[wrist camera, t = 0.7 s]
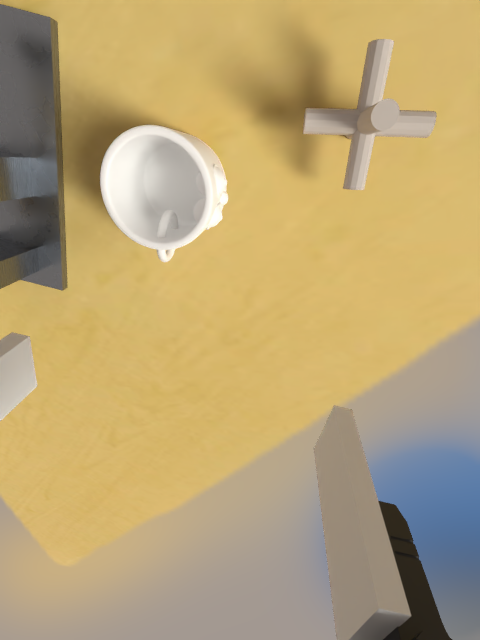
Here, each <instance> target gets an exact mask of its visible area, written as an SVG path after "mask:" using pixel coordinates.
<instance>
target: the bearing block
mask: <svg viewBox="0 0 480 640" xmlns="http://www.w3.org/2000/svg"><path fill="white" fill-rule="evenodd" d="M18 280H24V281H28V282H32V283H36V284H40V285H43V286H47V287H51V288H55V289H59V290H64V289H66V288H67V267H66V240H65V213H64V187H63V160H62V134H61V107H60V81H59V54H58V28H57V21H55V20H53V19H52V18H50V17H46V16H43V15H39V14H35V13H31V12H28V11H24V10H20V9H16V8H13V7H9V6H5V5H2V4H0V289H1V288H3V287H5V286H7V285H10V284H12V283H14V282H16V281H18Z"/></svg>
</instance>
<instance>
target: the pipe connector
mask: <svg viewBox="0 0 480 640" xmlns="http://www.w3.org/2000/svg"><path fill="white" fill-rule="evenodd" d="M393 44H394V41H393V40H390V39H378V40H374V41H371V42H369V43H368V48H367V54H366V60H365V65H364V71H363V77H362V83H361V88H360V94H359V100H358V106H357V109H332V108H306V110H305V116H304V124H303V134H326V135H345V136H346V137H347V138H348V139H352V140H351V146H350V152H349V157H348V163H347V169H346V175H345V180H344V186H343V189H351V190H364V187H365V182H366V177H367V172H368V167H369V162H370V157H371V152H372V148H373V143H374V138H375V136H388V137H419V138H427V137H428V136H430V134H431V132H432V131H433V128H434V125H435V122H436V112H434V111H409V110H399V106H398V104H397V102H396V101H394V100H393V99H384V100H382V98H383V93H384V88H385V84H386V79H387V74H388V69H389V64H390V59H391V54H392V49H393Z"/></svg>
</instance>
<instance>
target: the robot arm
mask: <svg viewBox="0 0 480 640" xmlns="http://www.w3.org/2000/svg"><path fill="white" fill-rule="evenodd" d="M36 387H37V380H36V374H35V368H34V361H33V355H32V349H31V342H30V336H26V335H21V334H17V333H10V334H9V335H7V336H6V337H4V338H3V339H1V340H0V421H1V420H2V419H3V418H4V417H5V416H6V415H7V414H8V413H9V412H10V411H11V410H13V409H14V408H15V407H16V406H17V405H18V404H19V403H20V402H21V401H22V400H23V399H24V398H25V397H26V396H27V395H28V394H29V393H30V392H32V391H33V390H34V389H35V388H36ZM314 454H315V463H316V471H317V479H318V487H319V496H320V503H321V512H322V521H323V529H324V537H325V545H326V554H327V562H328V570H329V579H330V587H331V595H332V603H333V612H334V619H335V620H334V621H335V629H336V637H337V640H452V639H451V638H450V637H449V636H448V634H447V632H446V630H445V628H444V626H443V623H442V621H441V618H440V615H439V612H438V610H437V607H436V604H435V601H434V598H433V595H432V592H431V590H430V587H429V584H428V581H427V578H426V575H425V572H424V570H423V567H422V564H421V561H420V560H419V555H418V553H417V550H416V547H415V545H414V544H413V538H412V535H411V533H410V530H409V527H408V524H407V522H406V520H405V519H404V517H403V516H402V514H401V513H400V511H399V510H398V508H397V507H396V505H394V504H390V503H385V502H381V501H378V499H377V495H376V492H375V488H374V485H373V482H372V478H371V474H370V471H369V467H368V464H367V461H366V457H365V454H364V451H363V447H362V443H361V440H360V436H359V433H358V429H357V427H356V423H355V419H354V416H353V412H352V410H351V409H347V408H343V407H338V406H333V408H332V411H331V413H330V415H329V417H328V420H327V422H326V424H325V426H324V428H323V430H322V433H321V435H320V437H319V439H318V441H317V444H316V446H315V448H314Z"/></svg>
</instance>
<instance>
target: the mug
mask: <svg viewBox="0 0 480 640" xmlns="http://www.w3.org/2000/svg"><path fill="white" fill-rule="evenodd" d="M226 185H227V180H226V177H225V173H224V169H223V167H222V164H221V162H220V160H219V158H218V157H217V155H216V154H215V152H214V151H213V150H212V149H211V148H210V147H209V146H208V145H207V144H206V143H205V142H203V141H202V140H200V139H199V138H197V137H195V136H192V135H190V134H187V133H184V132H181V131H177V130H174V129H170V128H167V127H163V126H158V125H141V126H137V127H133V128H131V129H129V130H127V131H125V132H123V133H122V134H120V135H119V136H118V137H117V138H116V139H115V140H114V141H113V142H112V143H111V145H110V146H109V148H108V149H107V151H106V153H105V156H104V158H103V161H102V165H101V171H100V187H101V193H102V198H103V201H104V204H105V207H106V209H107V211H108V213H109V215H110V217H111V218H112V220H113V221H114V223H115V224H116V225H117V226H118V228H119V229H120V230H121V231H122V232H123V233H124V234H125V235H127V236H128V237H129V238H130V239H132V240H133V241H135V242H137V243H139V244H141V245H143V246H145V247H148V248H152V249H157V254H158V257H159V259H160V260H161V261H163V262H168V261H169V260H170V259H171V258H172V256H173V254H174V251H175V249H176V248H179V247H182V246H184V245H187V244H188V243H190V242H192V241H193V240H194V239H195V238H197V237H198V236H199V235H200V234H201V233H202V232H203V231H204V230H205V229H206V230H208V229H209V228H211V227H214V226H216V225H217V224H218V223H219V221H221V220H222V209H223V206H224V205H225V204H226V203H227V201H228V194H227V193H226ZM165 250H166V251H165Z"/></svg>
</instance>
